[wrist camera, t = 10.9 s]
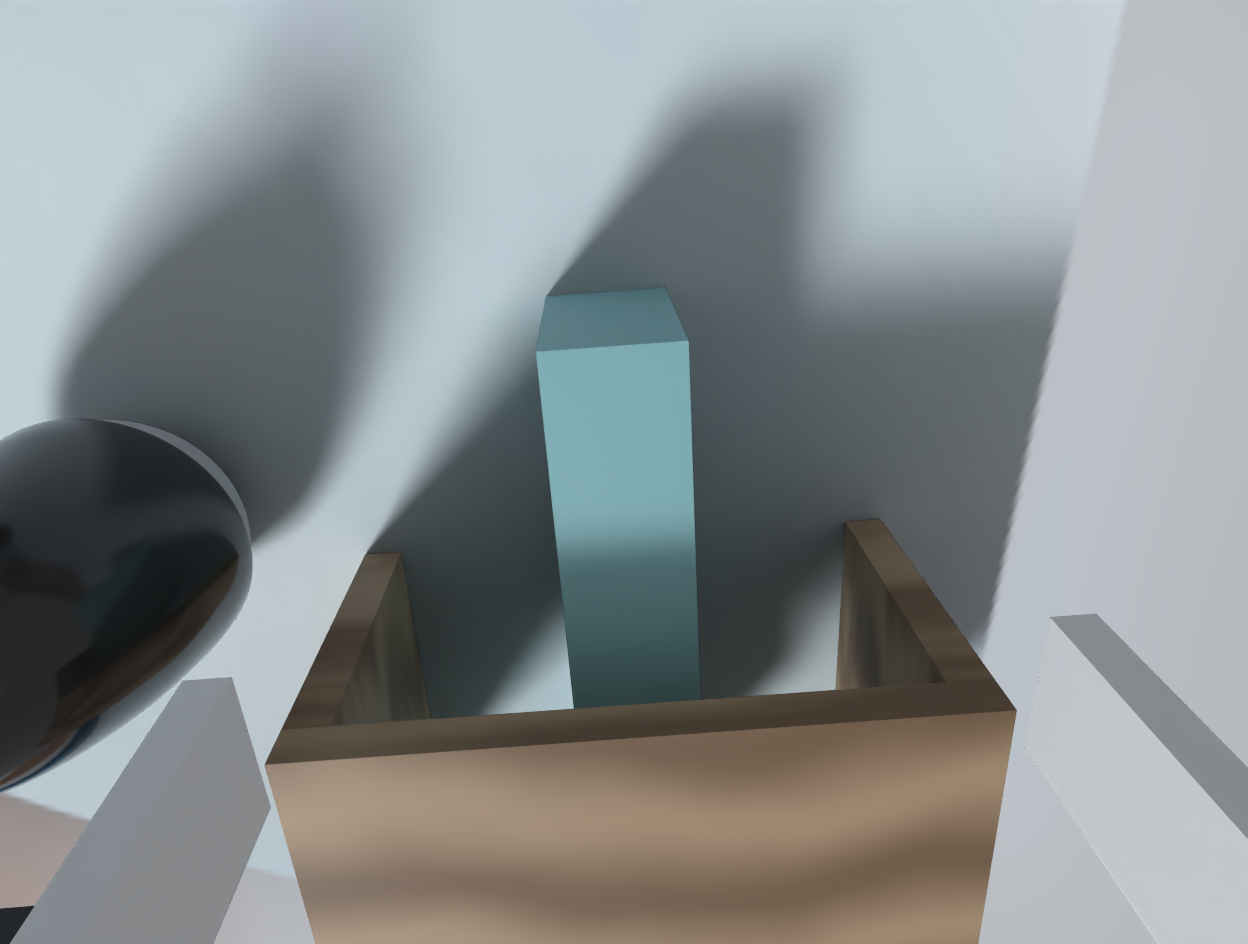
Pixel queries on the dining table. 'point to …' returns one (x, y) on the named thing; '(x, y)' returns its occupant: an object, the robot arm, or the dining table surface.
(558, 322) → the teal batten
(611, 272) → the dining table surface
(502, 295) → the dining table surface
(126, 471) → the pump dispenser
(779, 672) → the dining table surface
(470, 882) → the walnut shelf
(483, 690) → the dining table surface
